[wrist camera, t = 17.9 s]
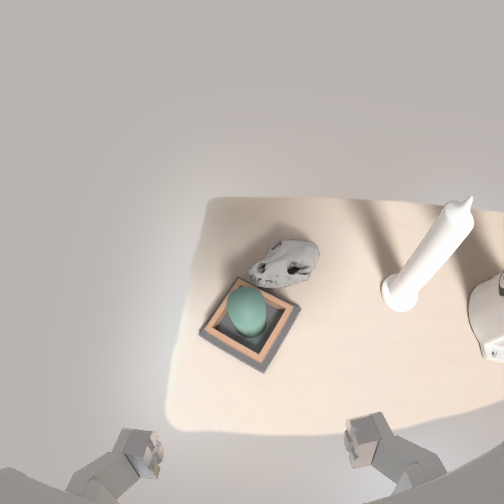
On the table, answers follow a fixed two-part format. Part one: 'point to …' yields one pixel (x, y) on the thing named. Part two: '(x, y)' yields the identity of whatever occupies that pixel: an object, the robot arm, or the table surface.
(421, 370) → the table surface
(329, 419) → the table surface
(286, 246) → the skull
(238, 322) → the green cylinder
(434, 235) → the candle
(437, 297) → the table surface
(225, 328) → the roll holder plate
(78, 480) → the robot arm
